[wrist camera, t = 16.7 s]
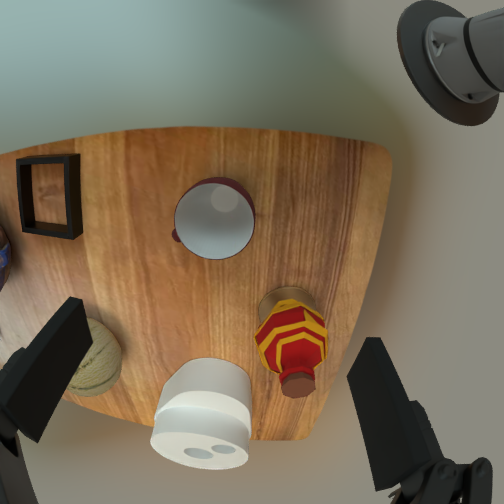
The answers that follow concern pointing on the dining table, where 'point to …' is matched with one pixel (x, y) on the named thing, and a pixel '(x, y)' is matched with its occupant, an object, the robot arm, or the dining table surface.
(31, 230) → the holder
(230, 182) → the mug
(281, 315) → the potion bottle
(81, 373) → the cantaloupe
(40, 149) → the dining table surface
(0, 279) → the bowl
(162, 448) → the white stepped block
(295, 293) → the coaster
